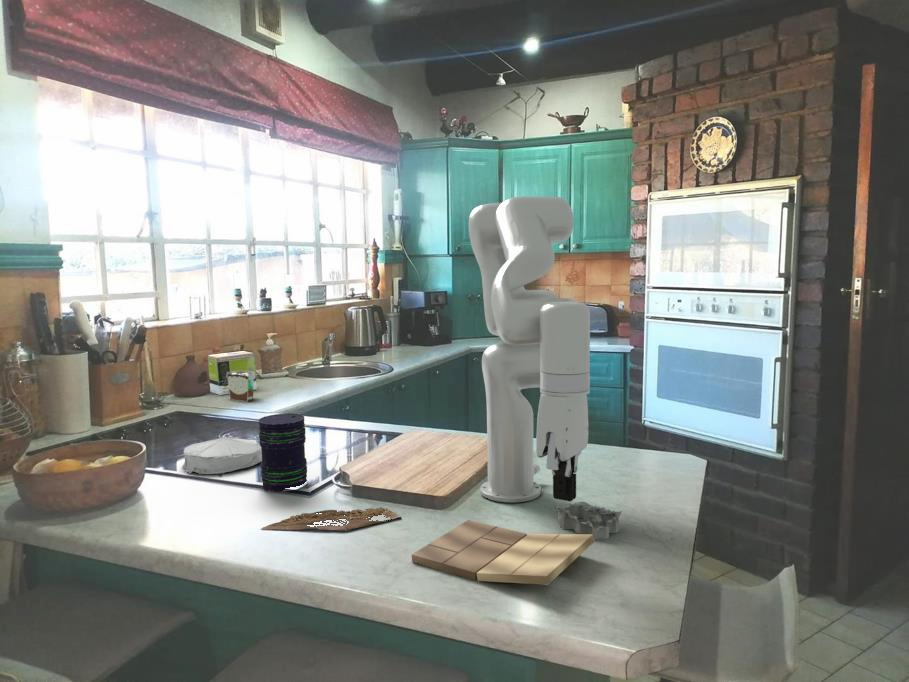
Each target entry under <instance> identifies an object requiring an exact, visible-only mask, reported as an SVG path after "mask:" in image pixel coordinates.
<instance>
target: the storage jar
mask: <svg viewBox="0 0 909 682" xmlns="http://www.w3.org/2000/svg"><path fill="white" fill-rule="evenodd" d="M305 424H306V423H305V416H304V415H302V414H299V413H278V414H270V415H266V416H263V417H260V418H259V419H258V425H259V426H258V429H259V430H258V438H259V441H258V444H259V445H260V447H261V452H262V455H261V456H262V461H261V462H260V469H261V470H260V476H261V481H262V484H263V488H264V491H265V490H266V491H265V492H268V491H270V492H269V493H276V492H281V493H283V492H282V491H283V490H284V489H285V488H290V487H296V486H300V485H302V484H304V483H305V482H306V481H307V482H308V479H307V478H308V475H307V473H308V466H307V464H308V462H307V458H306V451H305V443H306V439H307V438H306V427H305V426H306V425H305ZM263 488H262V489H263Z"/></svg>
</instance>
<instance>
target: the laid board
mask: <svg viewBox="0 0 909 682" xmlns="http://www.w3.org/2000/svg"><path fill="white" fill-rule="evenodd" d="M527 535H528V533H526V532H521V531H518V530H513V529H509V528H504V527H500V526H497V525H492V524H489V523H488V524H487V523H483V522H478V521H474V520H471V519H467V520H466V521H464V522H462V523H461V524H459V525H458V526H456V527H454V528H453V529H451V530H449V531H448V532H446V533H444V534H443V535H441V536H440V537H438V538H436V539H435V540H433V541H431V542H430V543H428V544H427V545H425V546H423V547H422V548H420V549H418V550H417V551H415V552H414V553H412V554H411V562H412V561H413V562H412V563H414V562H415V564H418V563H419V564H418V565H421V564H422V566H424V565H425V566H424V567H428V566H429V567H428V568H431V569H434V568H435V570H438V569H439V570H438V571H441V570H442V571H441V572H446V573H448V572H449V573H448V574H451V573H453V574H452V575H455V576H458V575H459V577H462V578H464V579H465V578H466V579H468V578H469V579H468V580H473V581H476V580H478V579H477V574H476V573H477V572H478V571H480V570H481V569H482V568H484V567H485V566H486V565H488V564H489V563H490V562H492V561H493V560H494V559H496V558H497V557H498V556H500V555H501V554H502V553H504V552H505V551H506V550H508V549H509V548H510V547H512V546H513V545H514V544H516V543H517V542H518V541H520V540H521V539H523V538H524V537H525V536H527Z"/></svg>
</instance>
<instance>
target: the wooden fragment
mask: <svg viewBox="0 0 909 682" xmlns="http://www.w3.org/2000/svg"><path fill="white" fill-rule="evenodd" d="M374 508H376V509H374ZM365 510H366V511H365ZM337 511H338V510H337V509H325V510H320V511H315V512H308V513H307V512H306V513H304V512H302V513H301V514H296V515H291V516H290V517H289V518H285V519H282V520H280V521H279V522H274V523H270V524H268V525H266V526H263V527H262V528H261V530H267V531H269V530H271V531H272V530H288V531H289V530H290V531H291V530H292V531H293V530H297V531H298V530H299V531H300V530H321V531H324V530H325V531H342V532H346V533H347V532H348V531H351V530H354V529H357V528H361V527H362V528H363V527H365V526H366V527H367V526H370V525H375V524H379V523H383V522H388V520H387V521H386V520H385V521H378V520H376V521H373V520H372V521H369V520H371V518H372V517H373V516H378V515H382V514H383V515H385V516H386V518H388V517H390V519H389V521H392V520H395V519H398V518H400V517H401V516H400V515H399V514H398V513H396V512H394V511H392V510H390V509H389V508H387V507H383V506H382V507H373V508H371V507H370V508H366V509H364V510H363V509H352V510H351V511H350V510H347V511H344V510H339V511H338V512H337ZM385 511H386V512H385ZM316 513H318V514H316ZM319 513H322V514H319ZM344 515H345V516H344ZM385 516H384V517H385ZM368 517H370V518H368ZM366 518H367V519H366ZM339 519H346V520H347V521H349V523H348V524H347V521H346V520H345V521H346V522H344V521H342V520H339ZM391 519H392V520H391ZM326 520H332V522H334V521H336V522H339V523H341V522H343V523H345V524H343V523H341V524H343V526H340V525H338V526H335V525H334V526H333V525H331V524H337V523H330V525H327V526H326V525H325V526H317V527H316V526H314V527H310V526H307V525H314V524H313V523H314V522H320V521H322V523H326V522H324V521H326ZM333 520H334V521H333ZM337 520H338V521H337ZM340 521H341V522H340ZM327 523H329V522H327ZM327 523H326V524H327ZM346 524H347V525H346ZM315 525H319V524H315ZM320 525H323V524H320Z"/></svg>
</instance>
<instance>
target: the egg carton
mask: <svg viewBox="0 0 909 682" xmlns="http://www.w3.org/2000/svg"><path fill="white" fill-rule="evenodd" d="M554 509H555V510H556V511H558V512H557V525H558V526H559V529H563V530H567V529H569V530H574V531H575V534H593V538H594V540H599V539H603V540H604V539H605V540H607V539H609V538H610V533H611V534H612V533H613V534H615V533H619V531H620V527H619V526H620V519H619V518H620V517H621V514H622V512H623V511H622V510H620V511H615V510H613V511H612V510H610V509H606V508H605V507H600V506H597V505H592V504H589V503H588V502H586V501H578V502H575V503H574V502H573V504H572V503H570V504H569V506H567V505H566V506H564V508H561V507H560V506H557V505H555V506H554ZM578 518H581V519H582V521H581V522H580V521H579V520H578Z"/></svg>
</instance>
